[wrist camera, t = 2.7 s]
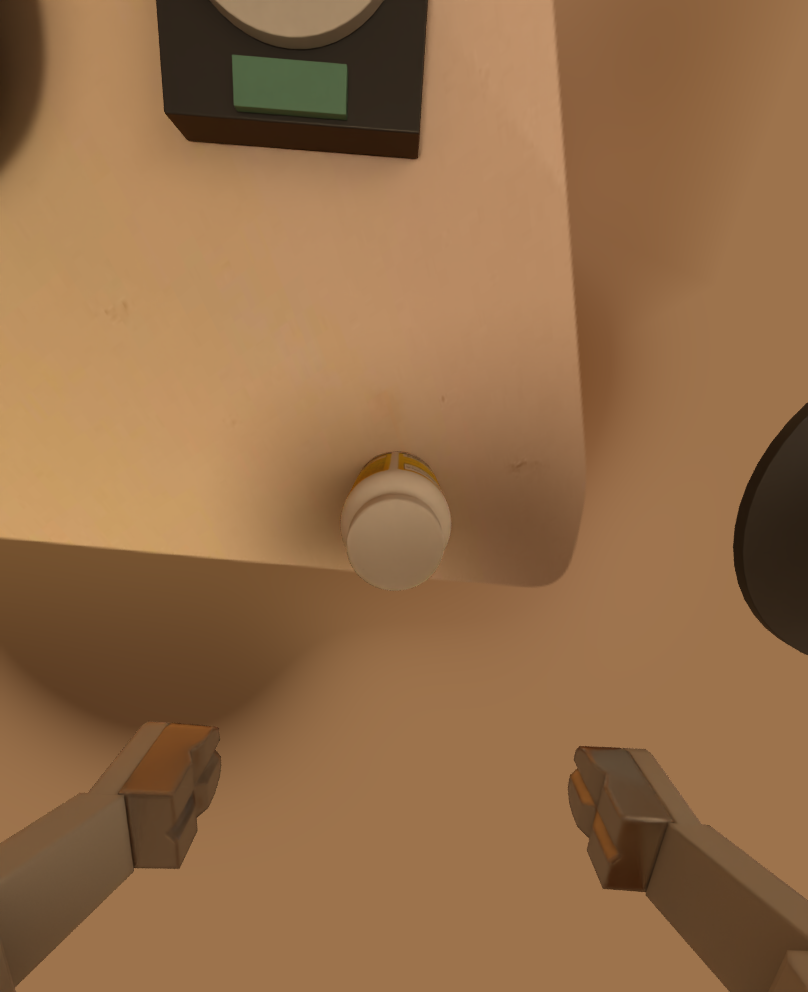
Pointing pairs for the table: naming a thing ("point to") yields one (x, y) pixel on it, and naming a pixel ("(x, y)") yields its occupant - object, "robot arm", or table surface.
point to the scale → (295, 73)
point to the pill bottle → (395, 522)
